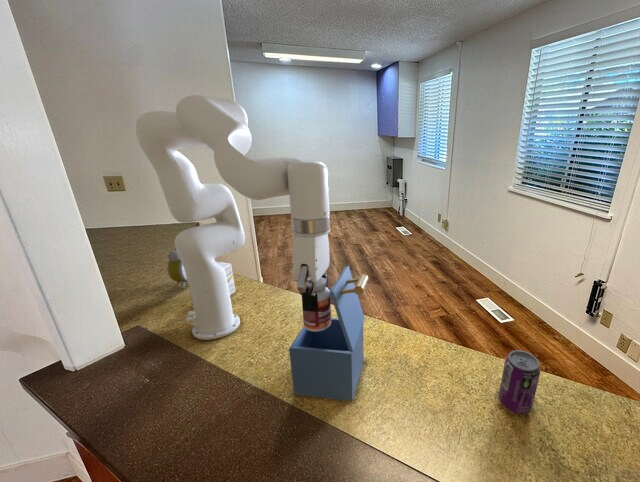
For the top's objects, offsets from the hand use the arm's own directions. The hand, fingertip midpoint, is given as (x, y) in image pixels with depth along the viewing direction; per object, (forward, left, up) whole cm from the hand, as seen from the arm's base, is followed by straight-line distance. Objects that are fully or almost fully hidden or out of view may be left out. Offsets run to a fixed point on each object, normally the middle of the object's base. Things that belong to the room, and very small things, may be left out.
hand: (316, 301), depth 67 cm
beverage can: (+46, -2, -21) cm, 50 cm away
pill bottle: (0, 0, -6) cm, 6 cm away
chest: (+3, 0, -21) cm, 21 cm away
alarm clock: (-67, +40, -21) cm, 81 cm away
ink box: (-49, +33, -21) cm, 63 cm away
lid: (+7, 0, -1) cm, 7 cm away
